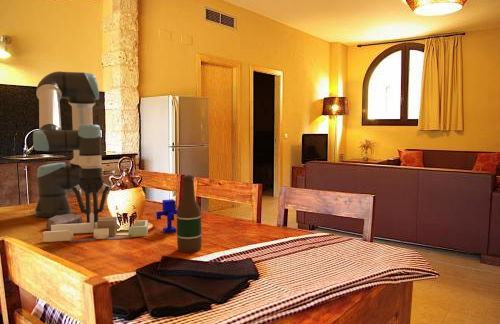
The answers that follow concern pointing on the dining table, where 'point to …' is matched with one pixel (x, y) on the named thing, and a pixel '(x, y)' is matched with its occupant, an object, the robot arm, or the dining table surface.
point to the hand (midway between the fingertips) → (92, 231)
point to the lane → (67, 231)
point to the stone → (63, 220)
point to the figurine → (168, 214)
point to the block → (108, 224)
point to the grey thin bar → (94, 239)
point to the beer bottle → (188, 219)
